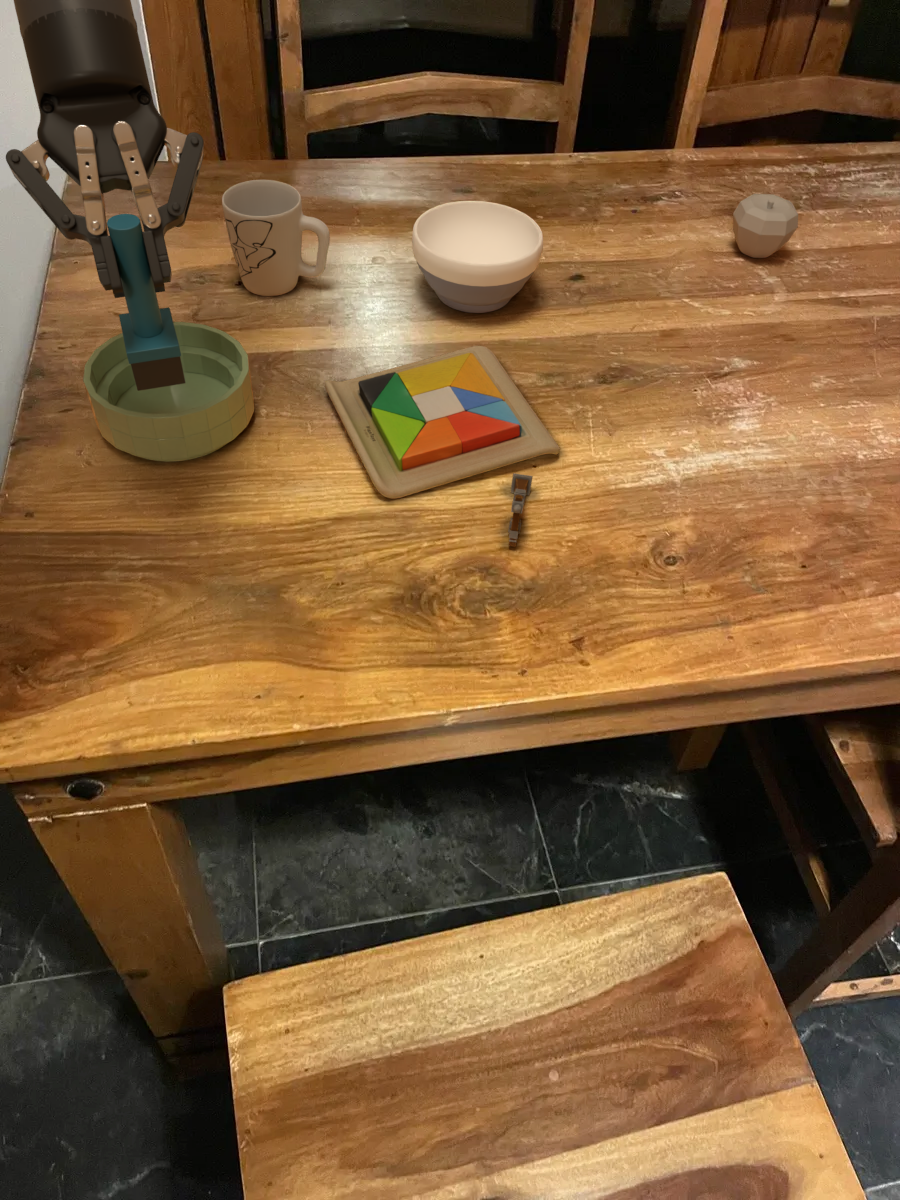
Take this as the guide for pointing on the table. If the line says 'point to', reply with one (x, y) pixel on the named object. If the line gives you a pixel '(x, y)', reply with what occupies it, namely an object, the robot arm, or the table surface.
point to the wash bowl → (173, 397)
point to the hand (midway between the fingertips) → (139, 291)
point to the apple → (763, 224)
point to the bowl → (476, 253)
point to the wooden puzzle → (438, 421)
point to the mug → (271, 235)
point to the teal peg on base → (144, 311)
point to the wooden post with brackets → (518, 504)
